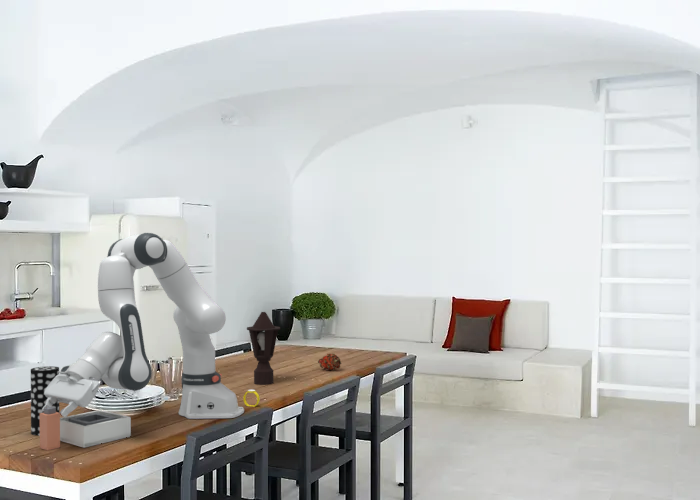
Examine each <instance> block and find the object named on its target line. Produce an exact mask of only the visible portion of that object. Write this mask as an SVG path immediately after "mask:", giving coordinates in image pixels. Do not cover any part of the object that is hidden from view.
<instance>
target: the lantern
mask: <svg viewBox="0 0 700 500" xmlns="http://www.w3.org/2000/svg"><path fill="white" fill-rule="evenodd" d="M246 330H247V331H249V332H248V333H249V338H250V342H251V348H252V352H253V357H254V358H255V359H256V362H257V366H256V368H255V369H254V371H253V384H254V385H257V386H268V385H269V386H270V385H273V384H274V369H273V368H272V367H271V364H270V361H271V360H272V358H273V356H274V354H275V353H274V352H275V347H276V343H277V342H276V341H277V337H278V332H279V330H281V326H276V325H274V324H273V322H272V320H271V319H270V317H269V316H268V314H267V312H266V311H261V312H260V314H259V315H258V317H257V318H256V320H255V322H254V324H253V325H252V326H247V327H246Z"/></svg>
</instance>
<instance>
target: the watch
mask: <svg viewBox="0 0 700 500" xmlns="http://www.w3.org/2000/svg"><path fill="white" fill-rule="evenodd" d="M248 393H250V394H254V395H255V397H256V403H255V404H249V403H248V402H247V395H248ZM242 397H243V398H242V401H243V403H244V405H245V406H246V407H251V408H255V407H257V406H258V405H259V403H260V400H261V398H260V395H259V393H258V392H257V391H256V389H248V390H247V391H246V392H245V393H244V395H243V396H242Z"/></svg>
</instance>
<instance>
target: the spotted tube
mask: <svg viewBox="0 0 700 500" xmlns="http://www.w3.org/2000/svg"><path fill="white" fill-rule="evenodd" d="M59 370H60V367H59V366H50V365H49V366H38V367H33V368H31V369H30V435H33V436H40V413H44V411H42V408H43V407H44V406H45V404H46V401H47V399H48V398H47V397H46V396H45V395H44V391H45V389H46V388H47V386H48V385H49V384H50V382H51V381H52V380H53V379H54V378H55V377H56V376H57V375H58V374H60V373H59ZM52 407H54V408H56V412H58V413H60V402H55V404H53V405H52Z"/></svg>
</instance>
